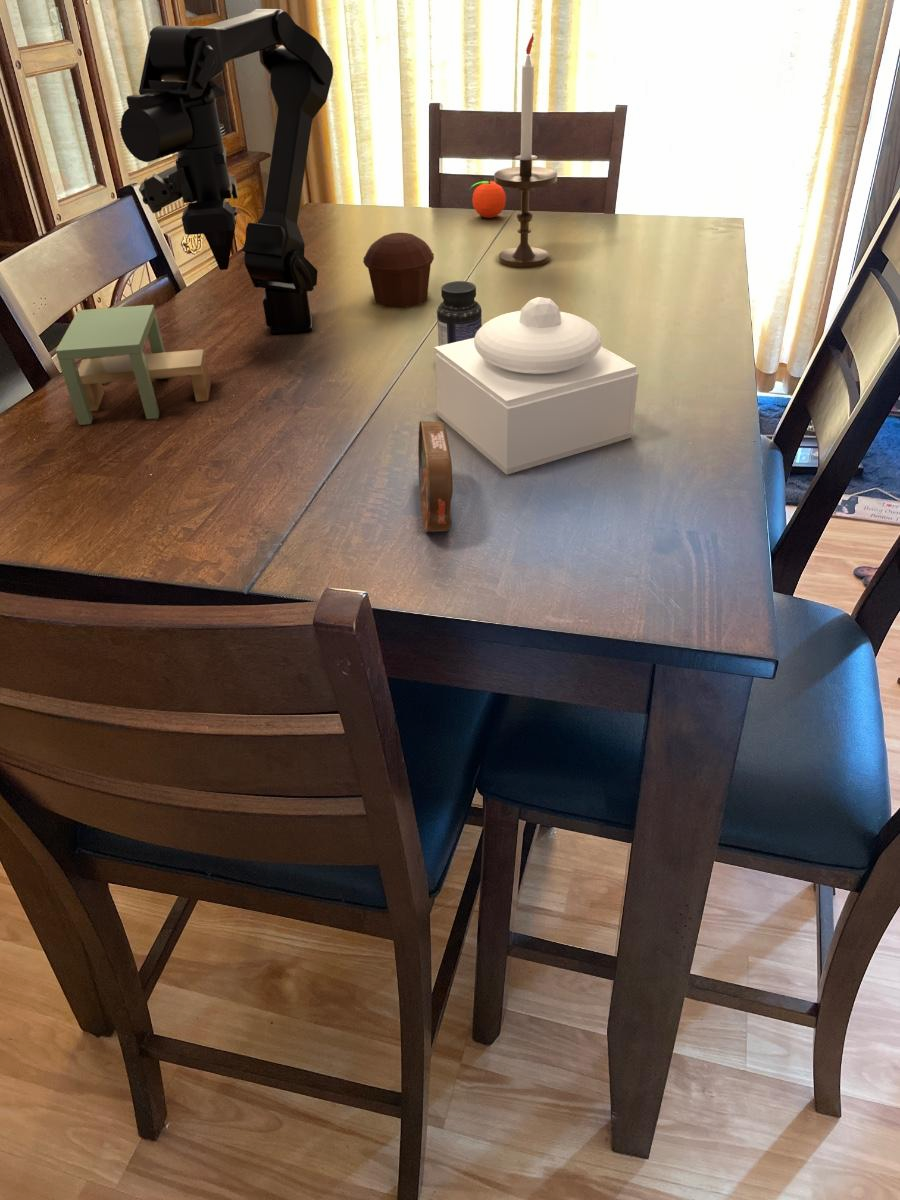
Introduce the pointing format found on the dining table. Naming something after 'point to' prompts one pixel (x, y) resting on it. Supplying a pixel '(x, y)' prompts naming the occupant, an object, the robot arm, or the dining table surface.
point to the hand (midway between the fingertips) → (224, 268)
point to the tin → (435, 476)
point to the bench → (158, 366)
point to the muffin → (399, 269)
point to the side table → (110, 350)
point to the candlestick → (525, 178)
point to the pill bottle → (458, 313)
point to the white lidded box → (535, 388)
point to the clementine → (488, 199)
